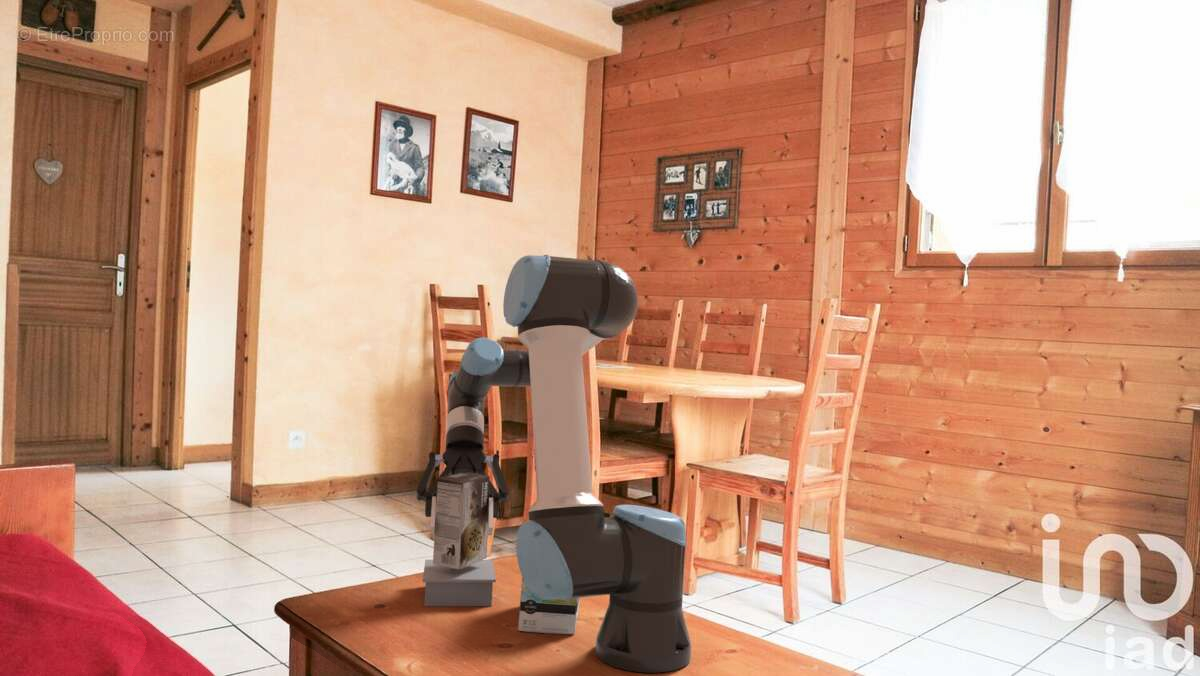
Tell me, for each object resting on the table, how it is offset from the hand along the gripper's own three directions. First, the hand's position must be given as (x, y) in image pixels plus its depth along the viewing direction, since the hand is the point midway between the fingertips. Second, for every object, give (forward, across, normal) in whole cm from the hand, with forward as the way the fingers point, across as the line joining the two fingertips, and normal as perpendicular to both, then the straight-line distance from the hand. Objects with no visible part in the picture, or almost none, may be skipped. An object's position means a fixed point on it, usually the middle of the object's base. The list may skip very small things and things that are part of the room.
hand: (461, 531), depth 159 cm
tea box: (+16, -16, -2) cm, 23 cm away
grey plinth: (+7, 0, -11) cm, 13 cm away
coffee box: (+3, 0, -7) cm, 7 cm away
